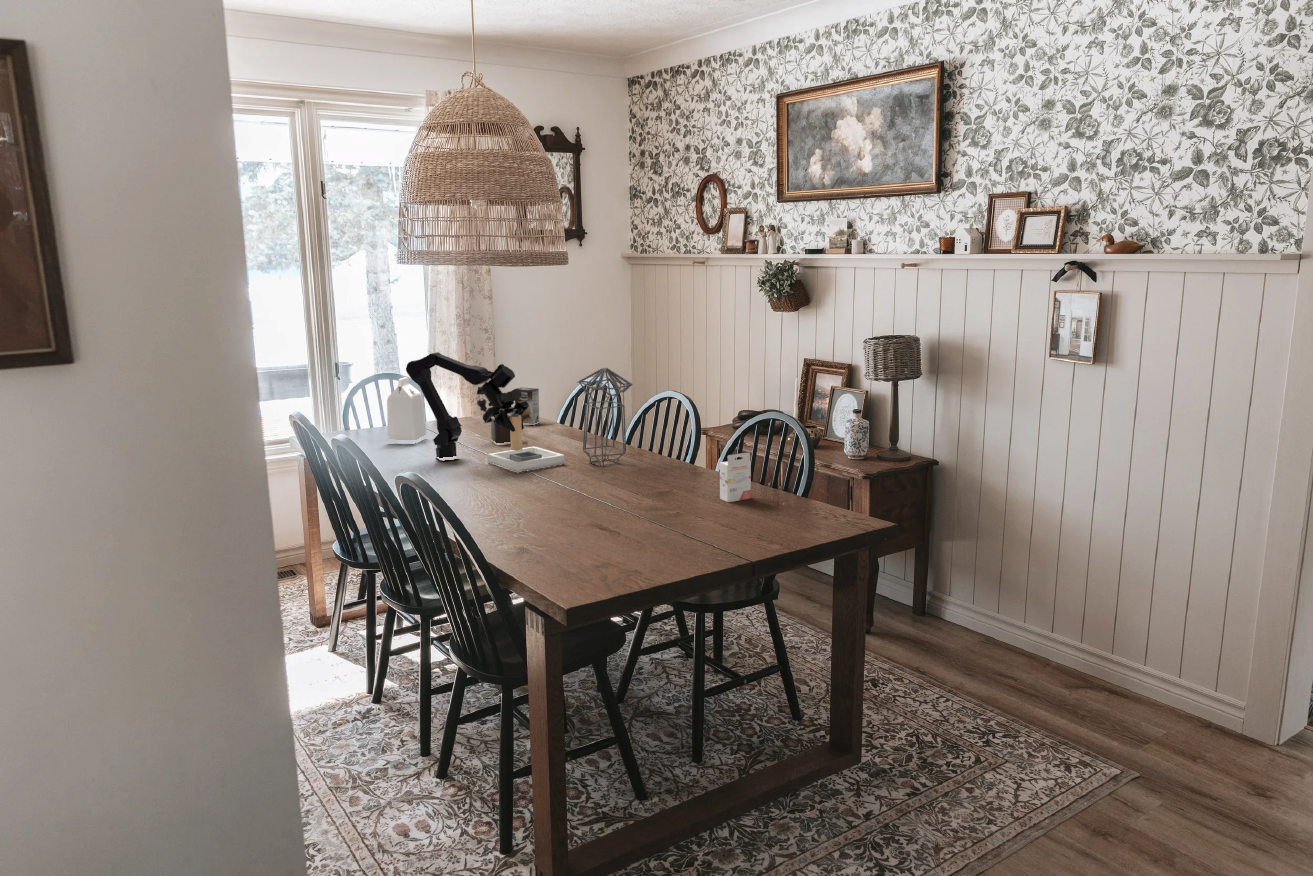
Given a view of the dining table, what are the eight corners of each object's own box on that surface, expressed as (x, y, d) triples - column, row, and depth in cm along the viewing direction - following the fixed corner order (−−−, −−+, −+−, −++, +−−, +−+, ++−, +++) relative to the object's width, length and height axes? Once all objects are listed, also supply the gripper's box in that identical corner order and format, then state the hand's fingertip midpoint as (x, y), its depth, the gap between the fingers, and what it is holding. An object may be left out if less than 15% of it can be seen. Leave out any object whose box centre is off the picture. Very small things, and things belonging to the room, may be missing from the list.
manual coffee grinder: (515, 438, 374) (513, 395, 370) (522, 443, 364) (520, 399, 360) (477, 442, 368) (475, 398, 364) (483, 447, 358) (481, 402, 354)
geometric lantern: (611, 456, 340) (612, 363, 332) (634, 465, 327) (635, 369, 319) (574, 461, 331) (574, 366, 324) (595, 471, 318) (596, 372, 311)
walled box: (534, 455, 343) (534, 446, 342) (564, 464, 328) (564, 454, 327) (487, 463, 330) (487, 454, 330) (516, 473, 315) (516, 463, 315)
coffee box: (515, 424, 404) (513, 389, 401) (522, 422, 410) (521, 386, 407) (533, 426, 401) (531, 390, 397) (540, 423, 406) (538, 387, 403)
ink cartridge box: (742, 495, 285) (742, 449, 282) (751, 499, 280) (751, 452, 277) (719, 498, 281) (719, 452, 278) (727, 502, 276) (727, 455, 273)
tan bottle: (516, 447, 326) (514, 412, 324) (524, 448, 324) (523, 414, 322) (508, 449, 323) (507, 414, 320) (516, 450, 321) (515, 415, 318)
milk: (400, 438, 377) (395, 376, 372) (426, 438, 376) (422, 376, 370) (387, 444, 366) (383, 380, 360) (415, 444, 364) (410, 380, 359)
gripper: (487, 385, 314) (511, 420, 310) (524, 378, 328) (548, 411, 324) (471, 405, 320) (495, 439, 316) (509, 398, 335) (532, 431, 331)
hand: (518, 430), depth 321 cm, fingers closed on tan bottle, 4 cm apart
